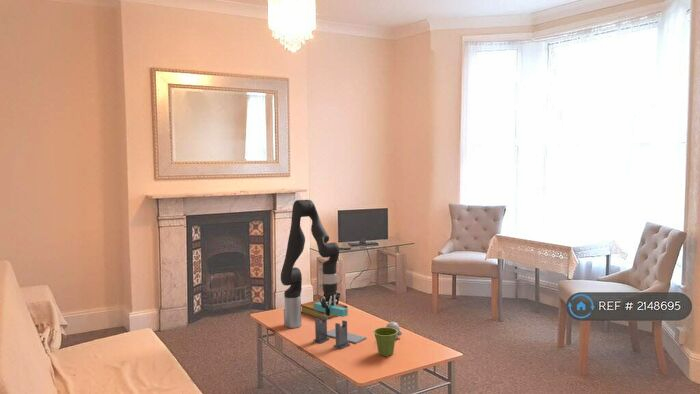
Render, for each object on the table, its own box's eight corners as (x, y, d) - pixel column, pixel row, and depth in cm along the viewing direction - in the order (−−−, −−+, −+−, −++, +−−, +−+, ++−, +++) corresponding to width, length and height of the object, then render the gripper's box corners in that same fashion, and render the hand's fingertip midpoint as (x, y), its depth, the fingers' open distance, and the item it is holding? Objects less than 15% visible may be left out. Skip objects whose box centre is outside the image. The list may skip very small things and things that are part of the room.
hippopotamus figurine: (380, 344, 287) (375, 330, 285) (395, 330, 294) (390, 317, 291) (389, 347, 282) (384, 334, 279) (404, 334, 288) (400, 320, 286)
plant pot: (369, 352, 269) (368, 330, 268) (389, 347, 275) (388, 325, 274) (382, 360, 259) (381, 337, 258) (402, 355, 264) (402, 332, 263)
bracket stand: (313, 341, 286) (312, 318, 285) (322, 337, 291) (321, 314, 290) (341, 349, 274) (340, 325, 273) (349, 345, 279) (349, 321, 278)
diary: (347, 314, 334) (347, 305, 333) (324, 321, 321) (323, 312, 321) (323, 307, 351) (323, 298, 350) (300, 313, 338) (300, 304, 337)
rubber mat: (322, 335, 296) (322, 333, 296) (333, 330, 303) (333, 329, 303) (355, 343, 281) (355, 342, 281) (366, 338, 288) (366, 337, 288)
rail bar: (313, 309, 286) (313, 303, 286) (318, 308, 289) (318, 301, 289) (343, 316, 274) (342, 310, 273) (347, 315, 276) (347, 308, 276)
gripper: (333, 277, 288) (334, 309, 289) (314, 283, 277) (315, 316, 278) (344, 280, 283) (344, 312, 284) (325, 285, 272) (326, 319, 274)
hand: (330, 314), depth 281 cm, fingers closed on rail bar, 3 cm apart
